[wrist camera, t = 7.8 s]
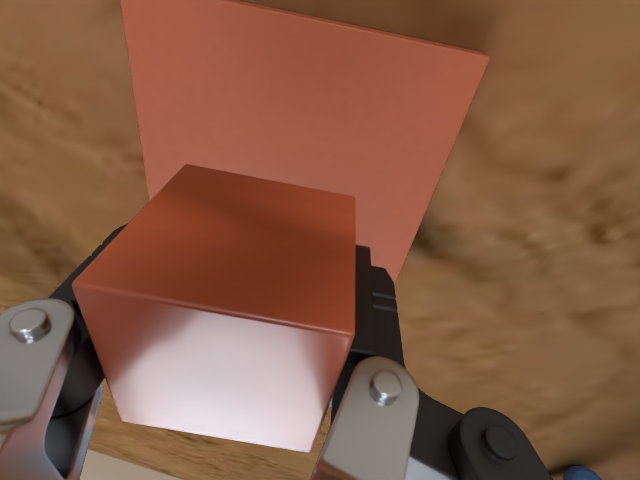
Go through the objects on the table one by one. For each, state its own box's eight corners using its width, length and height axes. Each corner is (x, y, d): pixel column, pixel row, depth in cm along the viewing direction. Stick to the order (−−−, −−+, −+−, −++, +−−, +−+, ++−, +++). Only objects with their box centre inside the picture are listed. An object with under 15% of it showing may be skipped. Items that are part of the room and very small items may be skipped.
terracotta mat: (164, 238, 18) (156, 250, 17) (132, -23, 11) (116, -23, 11) (389, 280, 18) (391, 293, 18) (482, 51, 12) (491, 56, 11)
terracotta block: (193, 285, 12) (119, 422, 8) (184, 162, 9) (67, 283, 5) (325, 310, 12) (311, 454, 8) (356, 195, 9) (356, 335, 5)
